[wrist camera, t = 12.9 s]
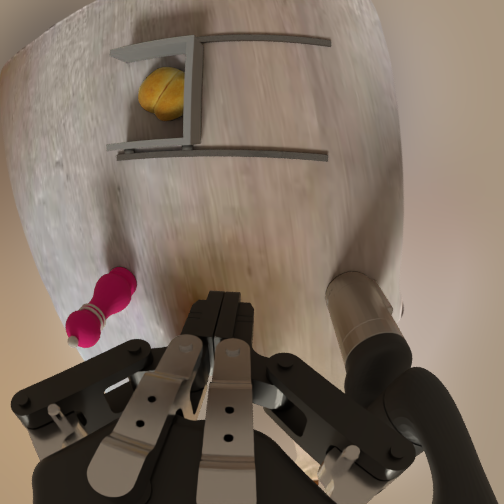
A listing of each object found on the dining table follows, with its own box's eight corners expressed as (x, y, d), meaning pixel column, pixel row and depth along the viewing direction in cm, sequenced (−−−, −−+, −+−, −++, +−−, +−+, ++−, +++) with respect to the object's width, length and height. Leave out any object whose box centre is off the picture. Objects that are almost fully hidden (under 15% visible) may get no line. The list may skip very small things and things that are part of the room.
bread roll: (176, 129, 40) (167, 128, 37) (135, 101, 39) (124, 99, 35) (207, 87, 38) (202, 82, 34) (165, 61, 36) (156, 55, 32)
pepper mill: (109, 259, 50) (49, 317, 31) (141, 271, 50) (89, 338, 32) (106, 289, 52) (54, 350, 34) (137, 301, 53) (91, 370, 35)
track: (330, 41, 33) (330, 40, 33) (326, 161, 41) (327, 161, 41) (121, 50, 34) (119, 49, 34) (118, 160, 42) (116, 160, 42)
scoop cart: (204, 42, 34) (194, 29, 28) (201, 149, 41) (190, 151, 35) (128, 53, 35) (110, 44, 29) (126, 153, 42) (106, 157, 36)
